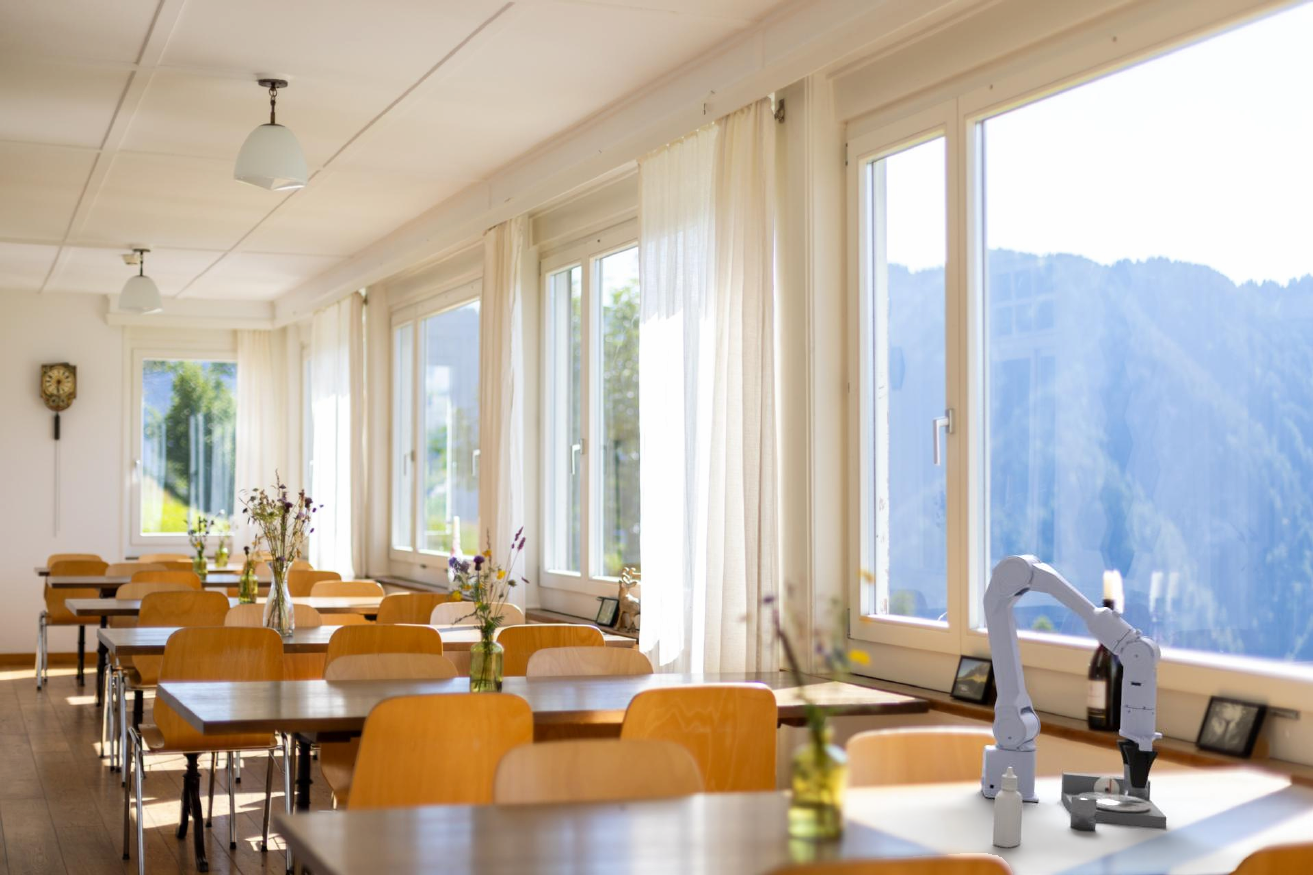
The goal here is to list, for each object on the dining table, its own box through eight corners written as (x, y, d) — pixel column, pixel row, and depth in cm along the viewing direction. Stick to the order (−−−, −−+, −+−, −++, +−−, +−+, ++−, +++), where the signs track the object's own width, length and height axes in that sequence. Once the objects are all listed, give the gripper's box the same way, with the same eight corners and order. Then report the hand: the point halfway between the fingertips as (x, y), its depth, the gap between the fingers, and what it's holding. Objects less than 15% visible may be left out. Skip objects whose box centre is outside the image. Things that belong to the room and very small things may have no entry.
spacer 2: (1125, 796, 227) (1127, 767, 227) (1120, 790, 231) (1121, 762, 231) (1149, 798, 226) (1151, 768, 226) (1144, 792, 230) (1145, 764, 230)
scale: (1074, 819, 224) (1075, 789, 224) (1061, 799, 239) (1062, 770, 239) (1166, 827, 222) (1167, 796, 222) (1146, 806, 237) (1148, 777, 237)
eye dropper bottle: (983, 840, 207) (986, 764, 207) (1013, 839, 209) (1017, 763, 209) (999, 848, 203) (1002, 770, 203) (1030, 847, 205) (1033, 770, 205)
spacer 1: (1072, 830, 217) (1073, 799, 217) (1068, 824, 221) (1069, 794, 221) (1097, 832, 216) (1098, 802, 216) (1093, 826, 220) (1094, 796, 220)
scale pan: (1084, 808, 224) (1084, 804, 224) (1072, 792, 236) (1072, 789, 236) (1157, 814, 222) (1157, 811, 222) (1142, 798, 234) (1142, 795, 234)
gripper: (1172, 715, 221) (1169, 796, 221) (1153, 701, 235) (1150, 777, 235) (1128, 712, 222) (1125, 792, 222) (1112, 698, 237) (1109, 774, 236)
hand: (1135, 784), depth 228 cm, fingers closed on spacer 2, 4 cm apart
